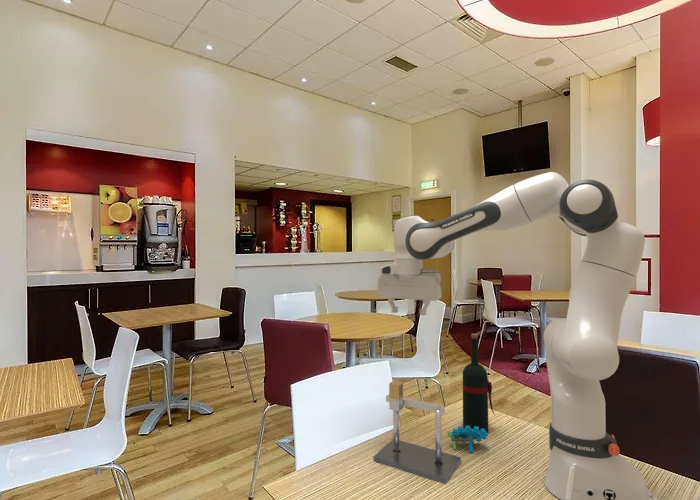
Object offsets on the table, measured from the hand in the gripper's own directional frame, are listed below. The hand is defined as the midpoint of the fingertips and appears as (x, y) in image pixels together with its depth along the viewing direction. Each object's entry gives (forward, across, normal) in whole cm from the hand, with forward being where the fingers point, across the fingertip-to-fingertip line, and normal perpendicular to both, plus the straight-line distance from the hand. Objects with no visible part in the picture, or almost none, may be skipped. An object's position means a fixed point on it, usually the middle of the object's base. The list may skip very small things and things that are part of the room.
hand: (408, 313), depth 121 cm
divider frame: (+36, -7, +12) cm, 38 cm away
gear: (+37, -17, -2) cm, 41 cm away
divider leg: (+35, -2, +13) cm, 38 cm away
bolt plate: (+37, -8, +13) cm, 40 cm away
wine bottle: (+37, -17, -15) cm, 44 cm away
